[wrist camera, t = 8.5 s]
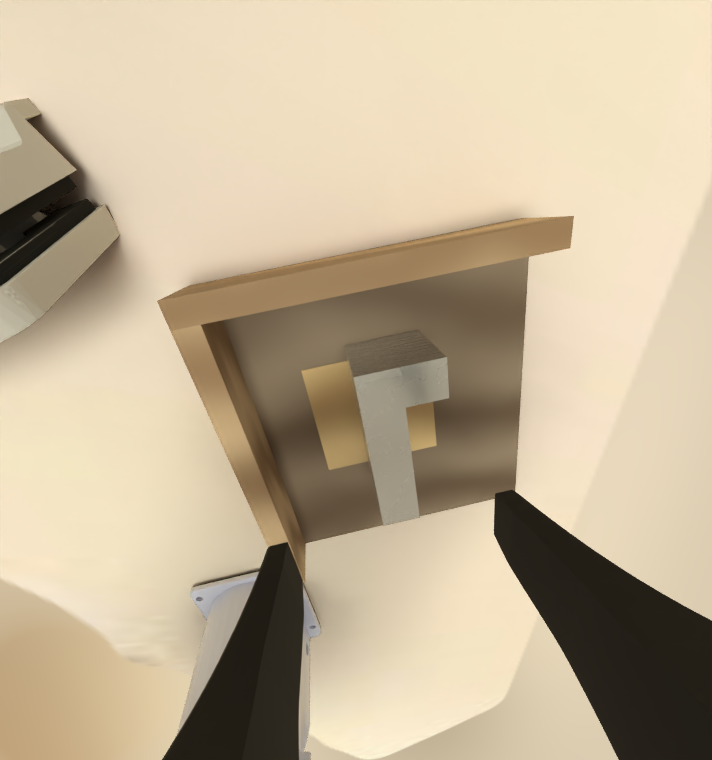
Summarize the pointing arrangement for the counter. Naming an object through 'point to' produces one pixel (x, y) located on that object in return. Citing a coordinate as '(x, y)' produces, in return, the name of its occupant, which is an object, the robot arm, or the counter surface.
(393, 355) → the bracket
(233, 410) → the walls
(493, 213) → the counter surface
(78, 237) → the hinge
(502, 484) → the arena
